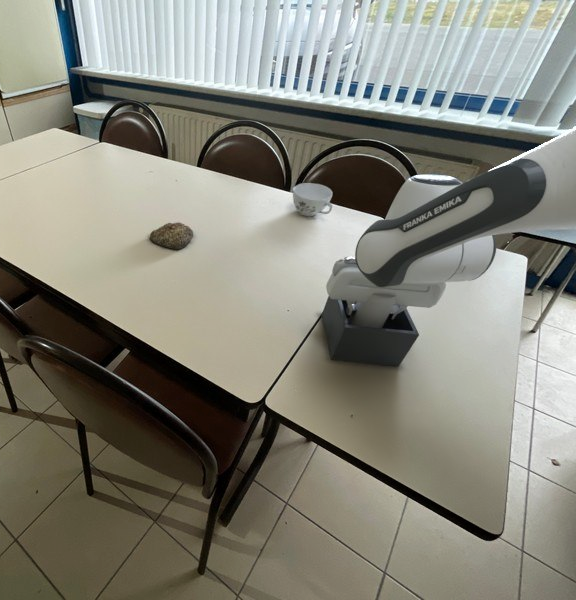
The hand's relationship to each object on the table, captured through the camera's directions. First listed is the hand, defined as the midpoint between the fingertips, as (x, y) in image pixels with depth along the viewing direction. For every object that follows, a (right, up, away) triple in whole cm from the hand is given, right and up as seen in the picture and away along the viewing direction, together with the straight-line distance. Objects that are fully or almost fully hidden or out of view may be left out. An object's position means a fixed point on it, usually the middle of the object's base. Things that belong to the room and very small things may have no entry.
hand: (369, 315), depth 76 cm
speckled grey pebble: (-41, +22, +37) cm, 60 cm away
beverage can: (0, -4, +3) cm, 5 cm away
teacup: (+5, +33, +49) cm, 59 cm away
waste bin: (0, -6, +5) cm, 8 cm away
